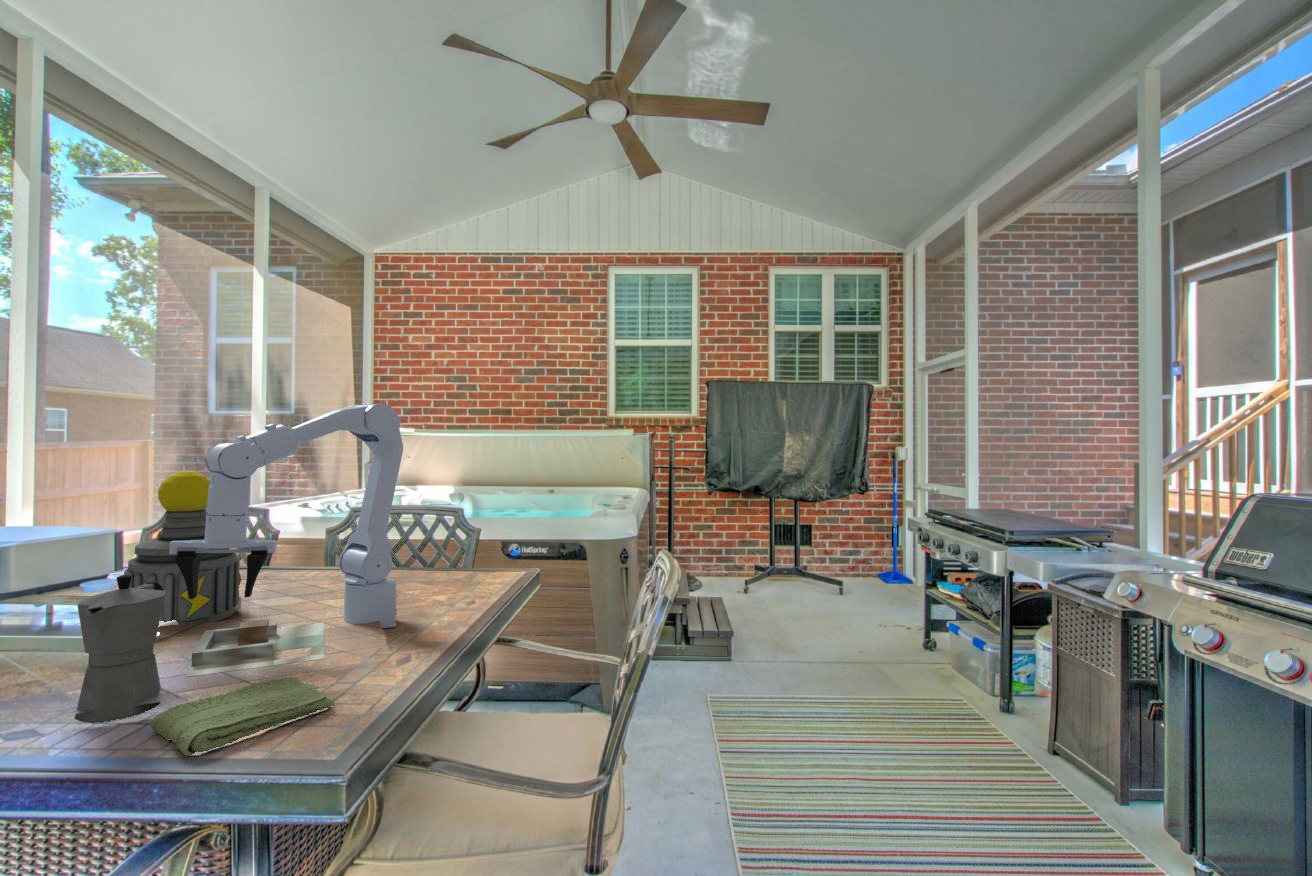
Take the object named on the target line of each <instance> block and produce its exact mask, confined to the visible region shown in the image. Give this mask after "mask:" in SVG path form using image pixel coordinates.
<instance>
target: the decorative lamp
mask: <svg viewBox="0 0 1312 876" xmlns="http://www.w3.org/2000/svg"><path fill="white" fill-rule="evenodd" d="M209 483H210V478H208V477H207V476H206V475H205V474H202V473H201V472H198V471H195V470H194V471H193V470H181V471H176V472H174V473H171V474H170V475H168V476H167V477H166V478H164V480H162V482H161V484H160V485H159V486H158V489H157V494H158V495H157V499H158V501H159V503H160V505H161V507H162V508H164V510H166V511H165V513H164V516H163V517H164V518H165V519H164V520H161V521H162V522H161V524H160V528H161V529H160V530H159V531H158V533H157V535H156V537H155V538H150V539H147V540H145V541H142V542H140V543H138V544H135V546H134V554H135V555H137V556H136V557H133V558H131V559H130V560H128V562H127V568H126V569H124V572H123V575H130V576H132V578H131V582H130V586H129V588H137V587H138V586H140V585H145V584H148V583H150V582H152V581H156V582H158V583H159V584H160V585H161V587H162V588H163V590H164V591H166V592H165V596H164V601H163V606H162V611H161V616H160V621H164V622H167V621H172V620H176V621H177V622H178V625H177V626H176V627H178V626H187V625H188V626H189V625H198V624H207V623H214V622H216V623H217V622H221V621H224V620H226V619H228V618H230V617H231V616H233V614H234V613H235V612H236V607H237V606H238V605H239V602H240V585H241V582H242V576H241V573H240V567H241V566H240V561H239V560H238V555H237V553H202V555H201V560H200V566H199V572H198V592H197V597H195V598H194V599H188V591H187V587H186V583H185V580H184V577H183V575H182V572H181V570H180V568H179V567H178V565H177V563H176V561H175V558H176V557H177V554H169V548H170V542H172V541H185V540H204V538H205V526H206V515H207V502H208V490H209ZM212 549H230V548H210V549H207V550H212Z"/></svg>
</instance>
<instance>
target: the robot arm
mask: <svg viewBox="0 0 1312 876" xmlns="http://www.w3.org/2000/svg"><path fill="white" fill-rule="evenodd" d="M401 421H402V418H401V417H400V415H399V414H398V413H397V412H396V410H394V408H393V407H392V405H391V406H390V405H389V404H386V403H382V402H380V403H375V404H361V403H356V404H353V405H350V406H345V407H341V408H337V409H334V410H332V411H329V412H326V413H324V414H322V415H320V416H317V417H315V418H312V419H310V420H308V421H305V422H303V423H300V424H297V425H295V426H293V427H289V426H286V425H284V424H277V425H276V424H275V423H271V424H270V423H269V424H267V425H265V426H264V429H263V430H261V431H258V432H256V433H253V434H250V435H247V436H245V434H243V435H239V436H237V437H235V438H236V441H235V442H232V443H231V442H223V443H219V444H217V445H215V446H214V447H213V448H211V450H209V452H208V453H207V456H206V457H205V458H204V461H203V462H204V466H205V468H206V470H207V472H208V473H210V474H209V480H210V483H209V490H208V502H207V507H206V513H207V515H206V526H205V538H204V540H185V541H172V542H170V548H169V554H177V557H176V558H175V561H176V563H177V565H178V567H179V568H180V570H181V572H182V575H183V577H184V580H185V583H186V587H187V591H188V599H194V598H195V597H197V592H198V572H199V566H200V560H201V555H202V553H236V554H237V553H238V554H239V553H240V554H241V553H242V554H245V553H249V554H248V555H247V556H246V581H245V588H244V598H250V597H251V596H252V595H253V590H254V586H255V584H256V580H257V578H258V576H259V573H260V571H261V569H262V568H263V565H264V564H265V562H266V561H267V559H268V557H269V555H270V554H274V553H276V552H277V544H278V543H277V541H278V540H276V539H275V540H274V539H271V540H270V539H268V540H267V539H265V540H264V539H247V534H248V533H247V532H248V521H249V518H248V517H249V505H250V496H251V495H250V494H251V493H250V492H251V477H252V475H254V474H255V472H256V471H257V470H258V469H260V468H262V467H265V466H268V465H270V464H272V463H276V462H277V461H280V460H282V459H285V458H287V457H291V456H293V455H295V454H296V453H297V451H298V449H299V448H300V445H301V444H303V443H306V442H310V441H312V440H316V439H318V438H322V437H324V436H327V435H329V434H333V433H335V432H338V431H347V432H349V433H350V434H352V435H353V436H355V437H356V438H358V439H359V440H361V441H362V442H363V443H364V444H365V445H366V446H367V447H368V449H369V450H370V451H371V452H372V458H371V460H370V461H371V462H370V467H369V471H368V477H367V480H366V485H365V490H364V493H363V498H362V503H361V509H360V513H359V517H358V522H357V526H356V530H355V531H354V532H353V533H352V534H351V535H350V536H349V537H348V539H347V544H346V545H345V548H344V549H343V550H342V551H341V553H340V556H339V559H338V567H339V569H340V571H341V573H343V574H344V594H343V595H344V596H343V597H344V598H343V599H344V601H343V602H344V603H343V623H345V624H346V623H347V624H352V625H361V624H370V623H375V622H379V624H380V628H381V629H389V628H395V627H396V626H397V624H396V616H397V611H398V610H397V584H396V579H395V578H387V577H388V576H389V575H390V573H391V571H392V568H393V558H392V554H391V553H392V547H393V546H392V545H393V544H392V542H391V541H390V538H389V536H388V535H387V531H388V530H387V529H388V527H389V526H388V525H389V522H390V521H389V520H390V516H391V511H392V505H393V502H394V495H395V490H396V487H397V486H396V485H397V481H398V476H399V472H400V467H401V462H402V458H403V453H404V443H403V438H402V434H401V431H400V426H401ZM210 548H229V549H212V550H207V549H210Z"/></svg>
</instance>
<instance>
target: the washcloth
mask: <svg viewBox="0 0 1312 876" xmlns="http://www.w3.org/2000/svg"><path fill="white" fill-rule="evenodd" d="M331 706H334V707H335V701H334V700H333V699H332V698H330V697H328V696H327V695H326V694H325V693H322V692H321V691H320V690H318V689H316V688H315V686H314V685H313V684H312V683H309V682H308V683H306V682H304V681H302V680H301V679H300V677H299V676H283V677H281V678H275V679H266V680H264V681H263V680H262V681H260V682H256V683H252V684H250V685H247V686H243V687H240V688H236V689H234V690H229V691H228V692H225V693H221V694H218V695H214V696H213V695H212V696H209V697H205V698H198V699H196V700H192V701H191V702H190V701H189V702H185V703H184V704H183V703H182V704H178V705H175V706H172V707H169V708H168V709H167V710H165V711H162V712H160V713H158V714H156V715H155V716H154V717H153V718H152V719H151V720H150V722H149V723H150V728H151V729H152V731H154V732H155V733H156V734H158V735H160V736H162V737H163V738H165V740H166V738H167V739H170V740H171V742H172V743H174V744H175V743H176V744H175V748H176V749H177V750H180V752H181V753H182V754H186V755H192V754H194V753H195V752H197V751H198V752H203V751H208V750H210V749H213V748H216V747H221V746H223V745H225V744H227V743H232V742H233V741H236V740H238V739H239V738H242V737H245V736H249V735H251V734H254V733H256V732H259V731H260V730H264V729H267V728H270V727H272V726H276V725H277V724H279V723H284V722H286V721H289V720H292V719H296V718H298V717H302V716H305V715H309V713H313V712H316V711H317V710H322V709H324V708H330V707H331ZM330 709H331V708H330Z"/></svg>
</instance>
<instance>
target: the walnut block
mask: <svg viewBox="0 0 1312 876" xmlns="http://www.w3.org/2000/svg"><path fill="white" fill-rule="evenodd" d="M269 624H270V618H268V619H256V620H247V621H246V620H245V621H241V622H240V624H239V636H238V646H242V645H251V644H259V643H268V642H269Z"/></svg>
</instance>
